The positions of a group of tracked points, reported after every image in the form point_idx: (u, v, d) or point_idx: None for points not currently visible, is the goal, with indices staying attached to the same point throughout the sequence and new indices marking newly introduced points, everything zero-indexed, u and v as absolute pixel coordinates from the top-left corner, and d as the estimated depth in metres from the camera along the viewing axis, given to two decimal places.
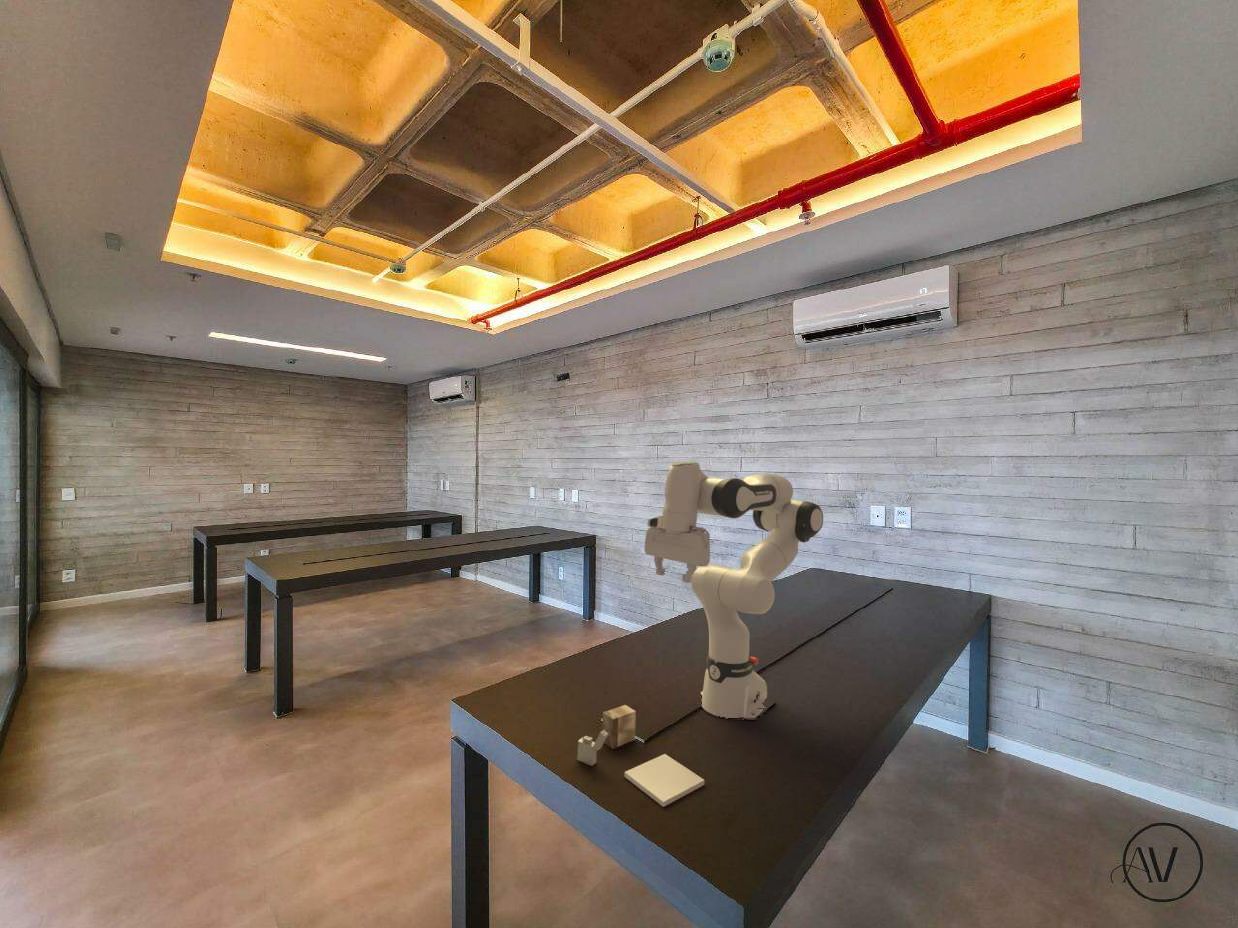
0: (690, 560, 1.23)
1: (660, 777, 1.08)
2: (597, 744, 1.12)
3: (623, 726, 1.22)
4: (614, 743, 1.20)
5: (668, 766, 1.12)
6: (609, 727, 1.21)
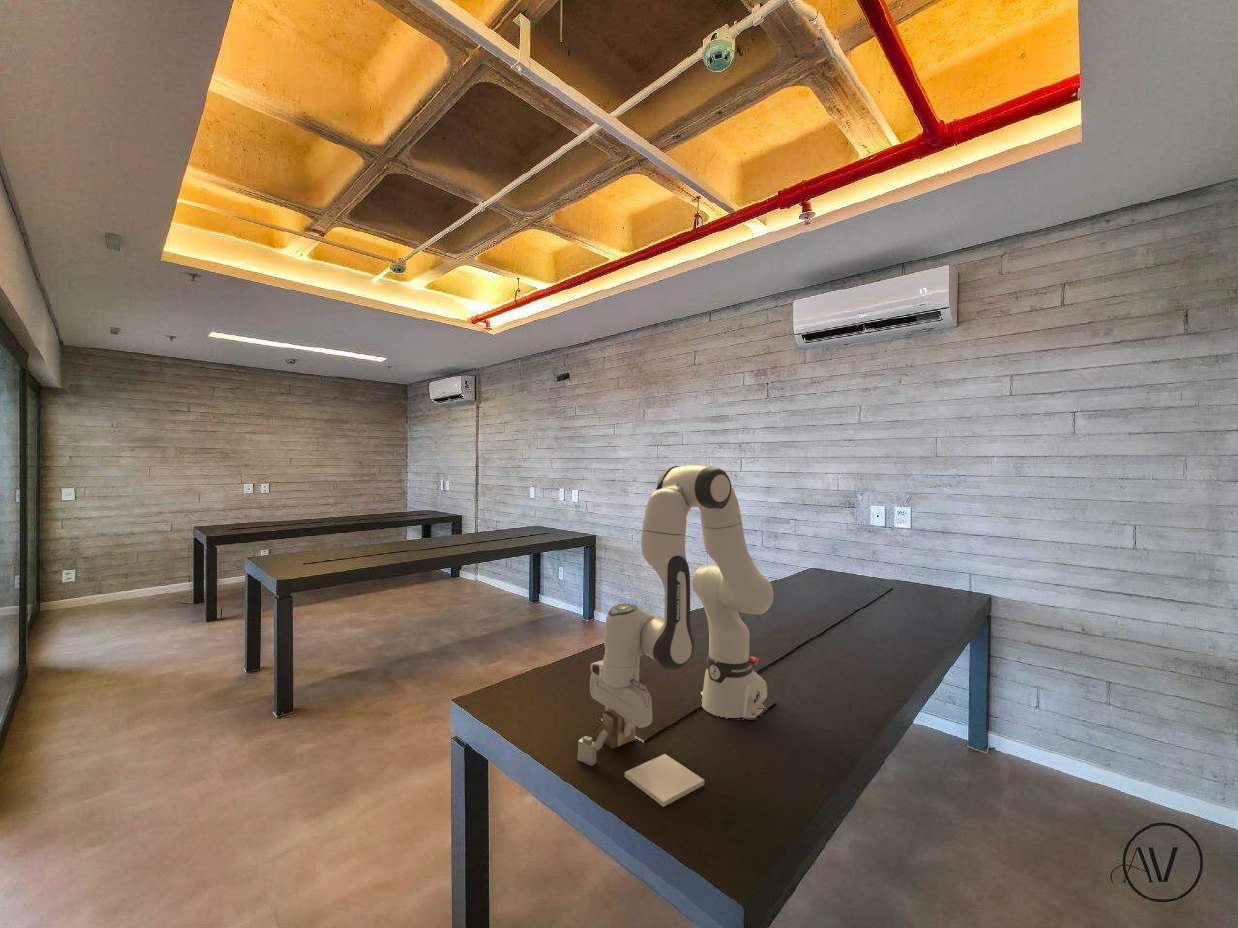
0: (632, 720, 1.17)
1: (660, 777, 1.08)
2: (597, 744, 1.12)
3: None
4: (614, 743, 1.20)
5: (668, 766, 1.12)
6: (609, 726, 1.21)
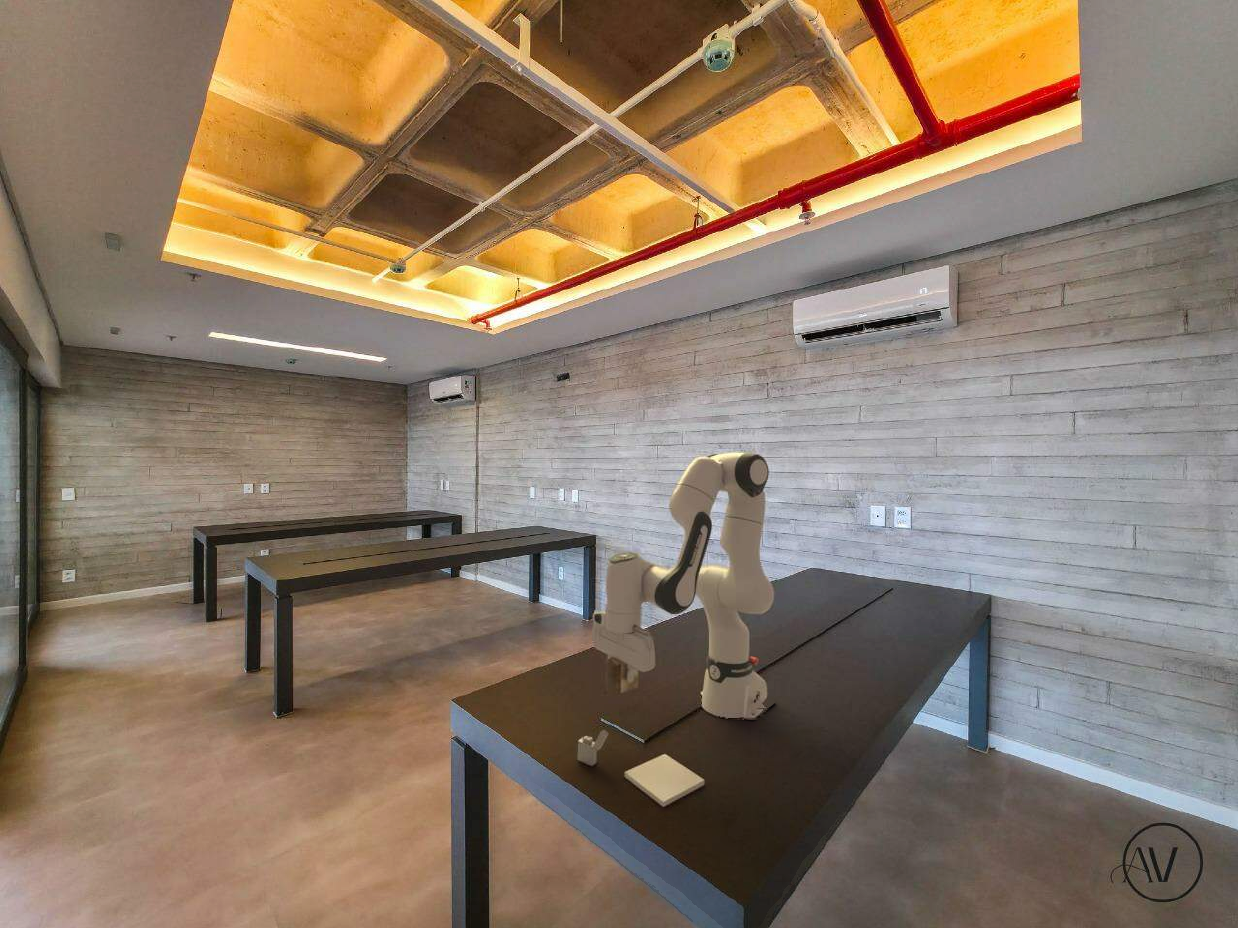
0: (635, 664, 1.17)
1: (660, 777, 1.08)
2: (597, 744, 1.12)
3: None
4: (617, 689, 1.20)
5: (668, 766, 1.12)
6: (612, 673, 1.21)
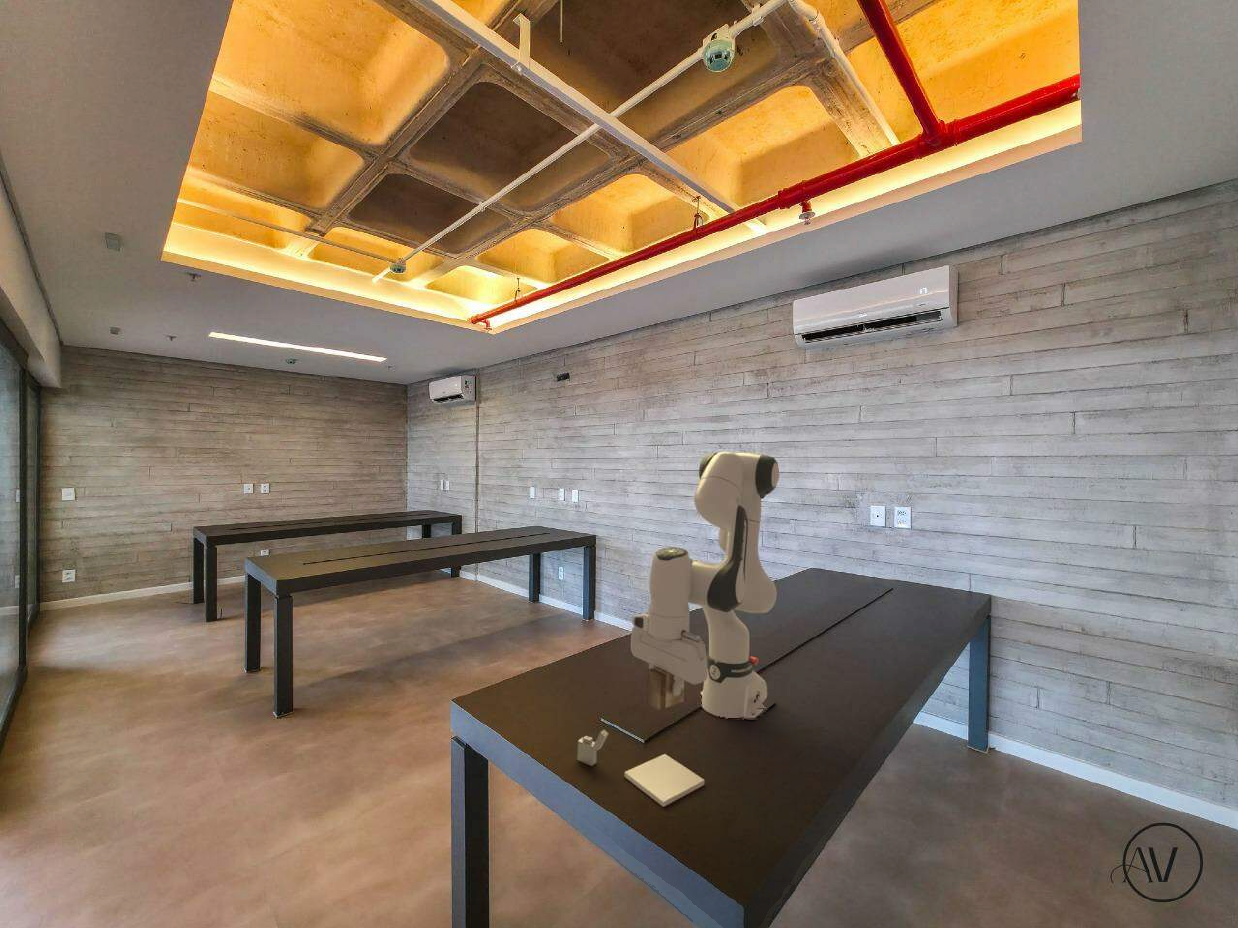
0: (684, 676, 1.02)
1: (660, 777, 1.08)
2: (597, 744, 1.12)
3: None
4: (662, 703, 1.05)
5: (668, 766, 1.12)
6: (655, 685, 1.06)
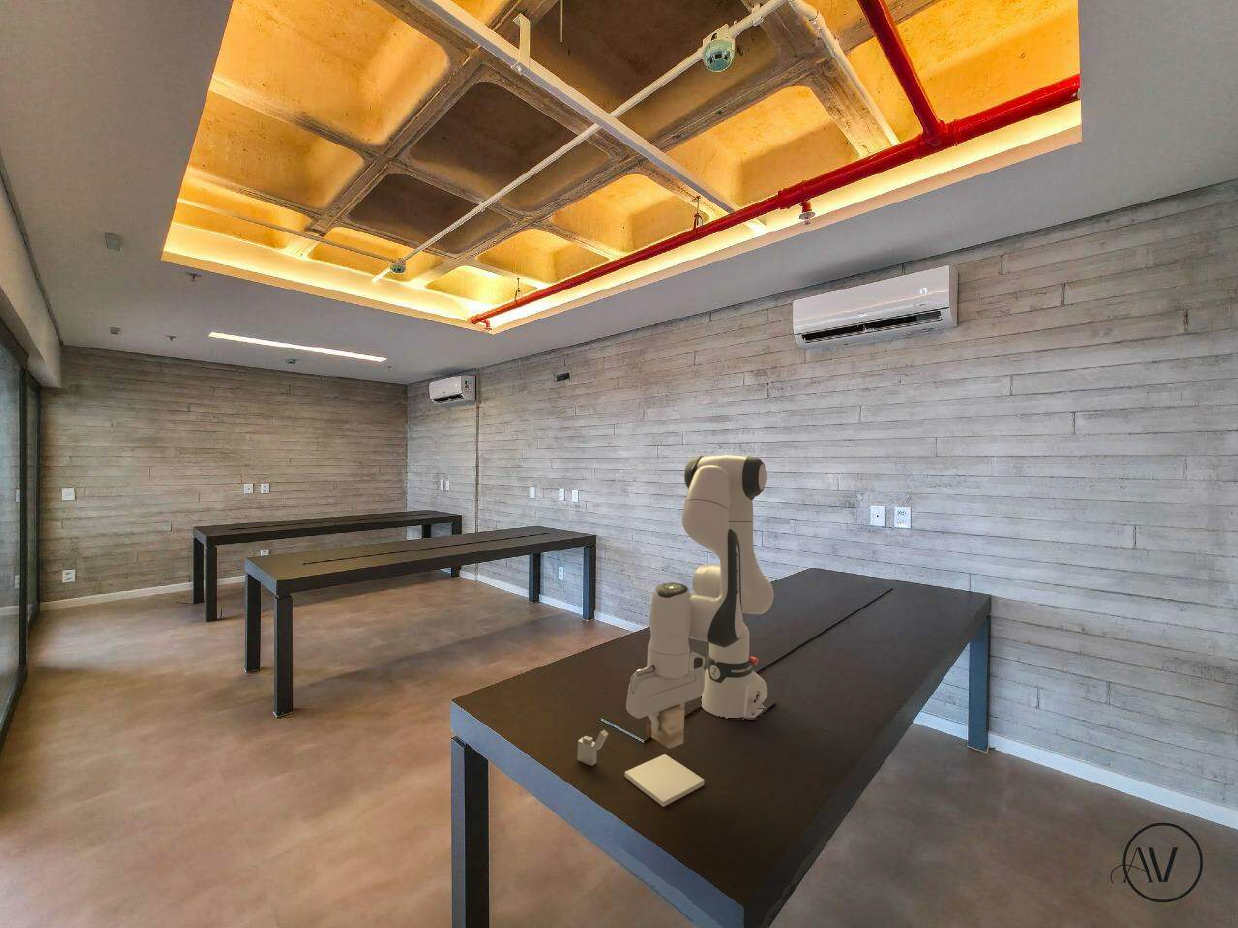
0: None
1: (660, 777, 1.08)
2: (597, 744, 1.12)
3: None
4: (648, 730, 1.09)
5: (668, 766, 1.12)
6: None
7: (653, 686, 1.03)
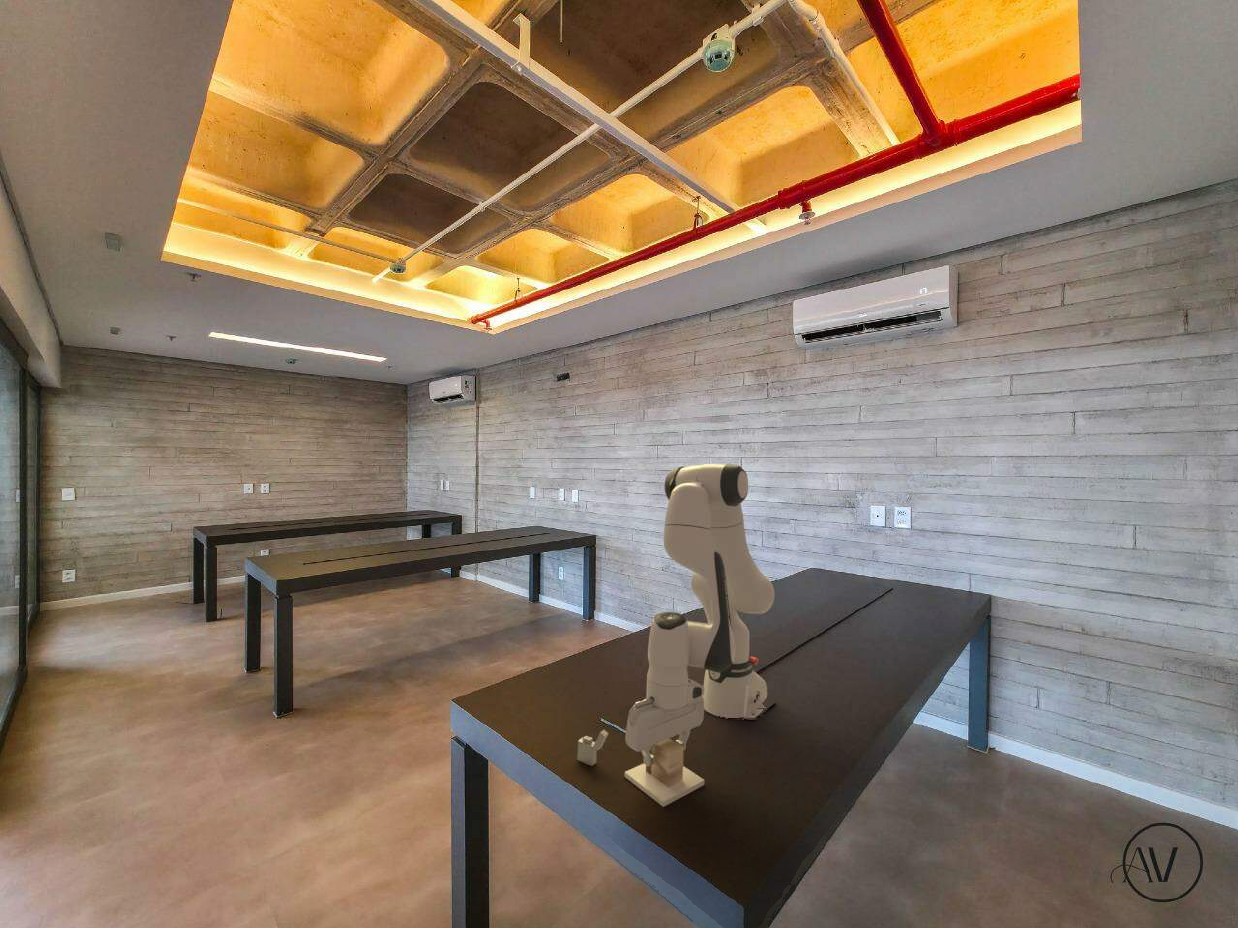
0: None
1: None
2: (597, 744, 1.12)
3: (657, 757, 1.07)
4: (647, 766, 1.09)
5: None
6: None
7: (652, 718, 1.03)
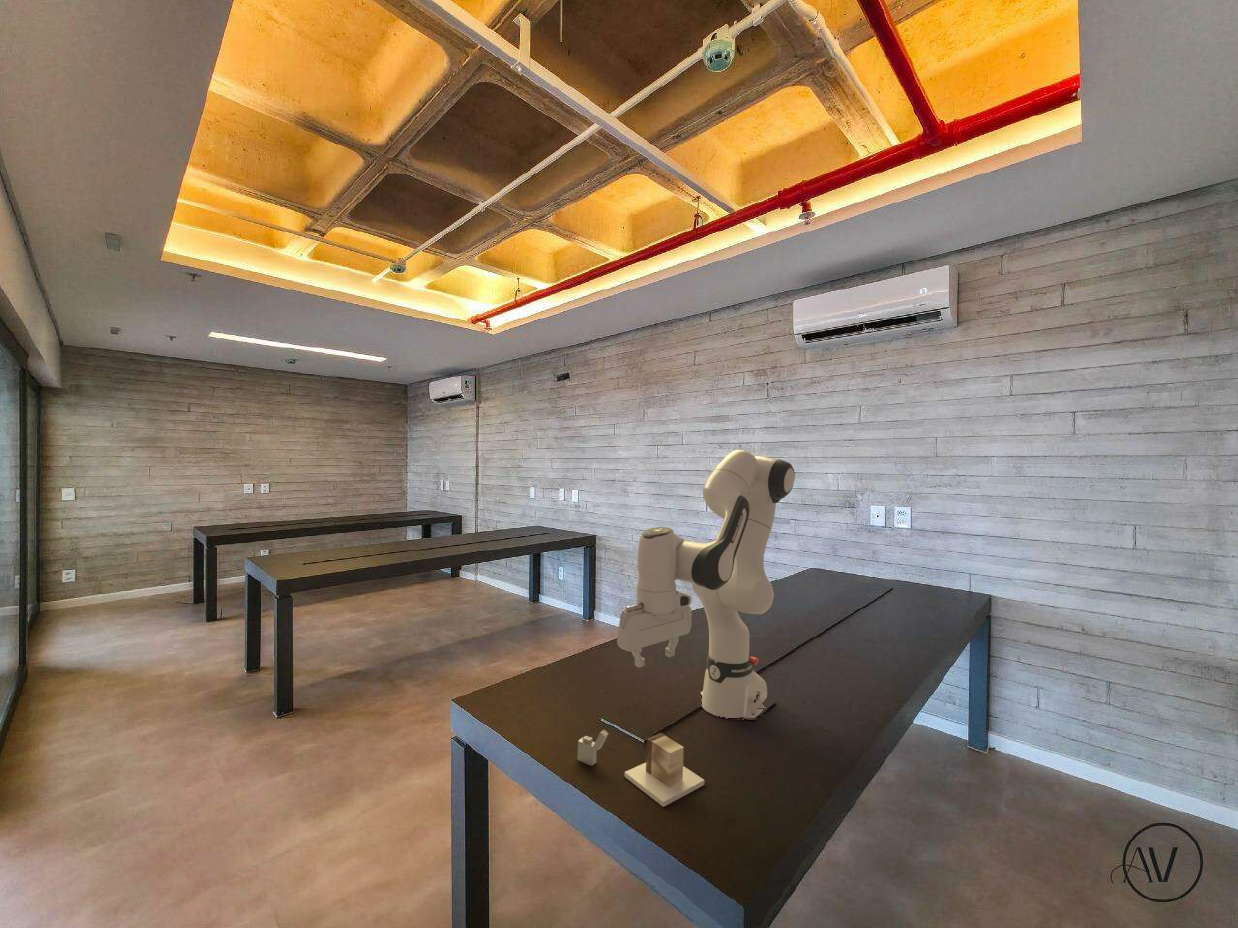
0: None
1: None
2: (597, 744, 1.12)
3: (657, 757, 1.07)
4: (647, 766, 1.09)
5: None
6: None
7: (642, 621, 1.10)
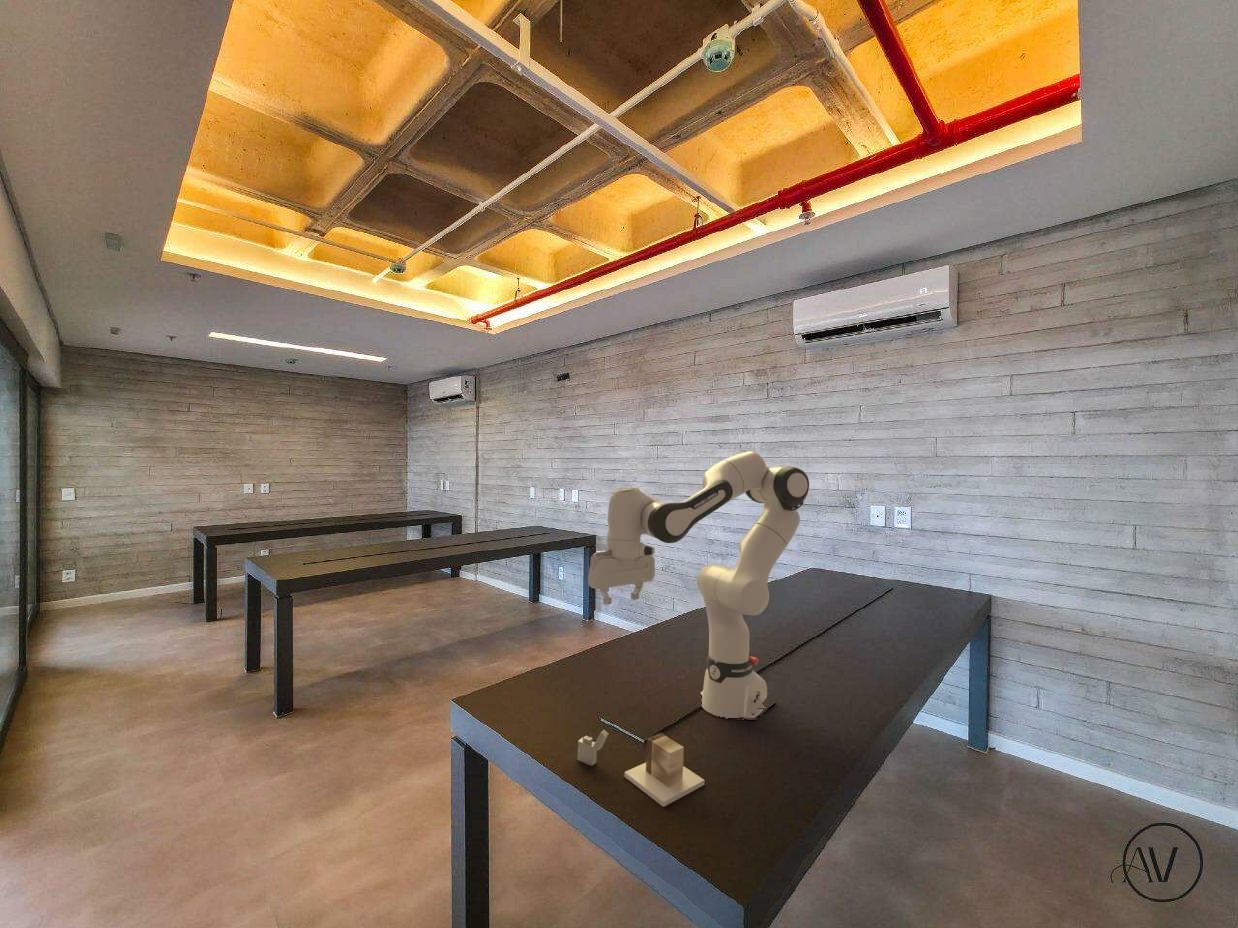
0: None
1: None
2: (597, 744, 1.12)
3: (657, 757, 1.07)
4: (647, 766, 1.09)
5: None
6: None
7: (609, 565, 1.29)
